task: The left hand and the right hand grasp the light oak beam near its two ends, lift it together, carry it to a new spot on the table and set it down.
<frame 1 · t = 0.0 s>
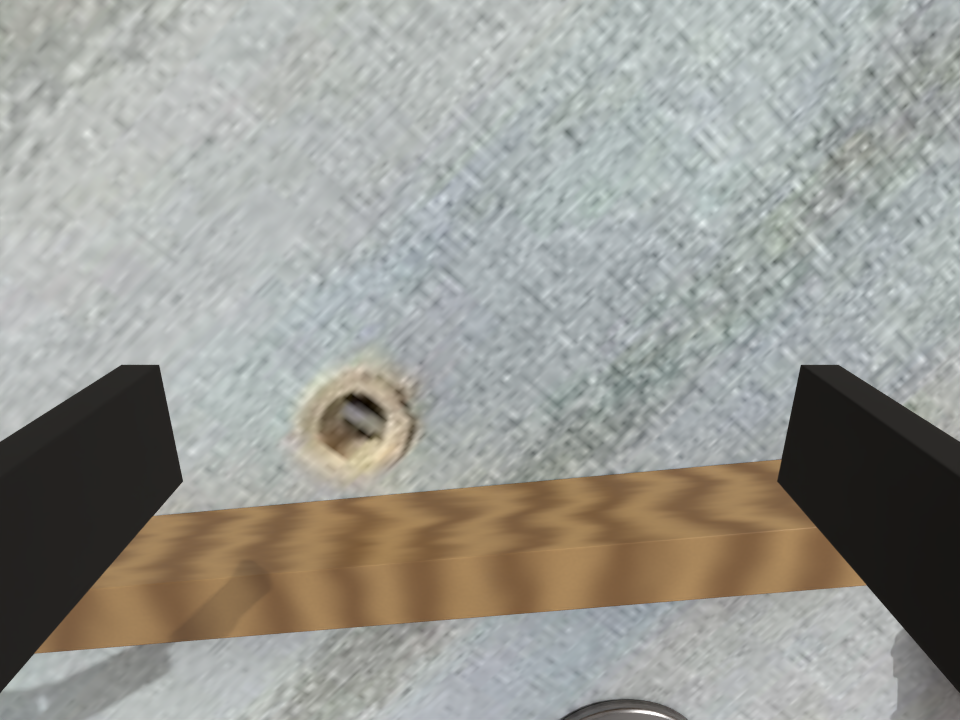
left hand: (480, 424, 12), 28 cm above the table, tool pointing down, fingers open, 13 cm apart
beam: (445, 516, 46), on the table
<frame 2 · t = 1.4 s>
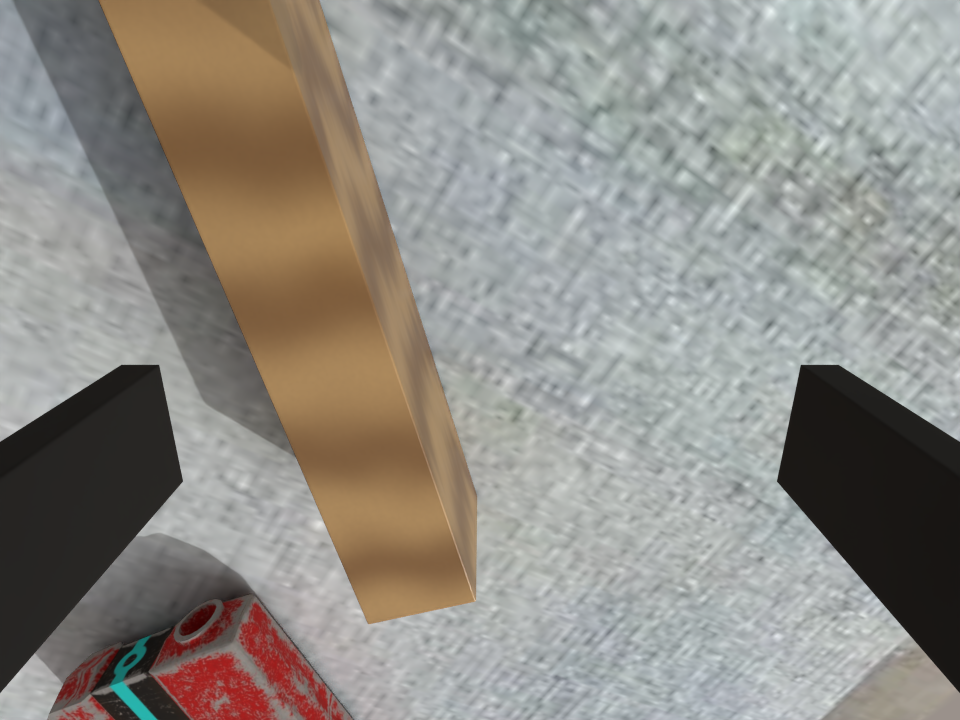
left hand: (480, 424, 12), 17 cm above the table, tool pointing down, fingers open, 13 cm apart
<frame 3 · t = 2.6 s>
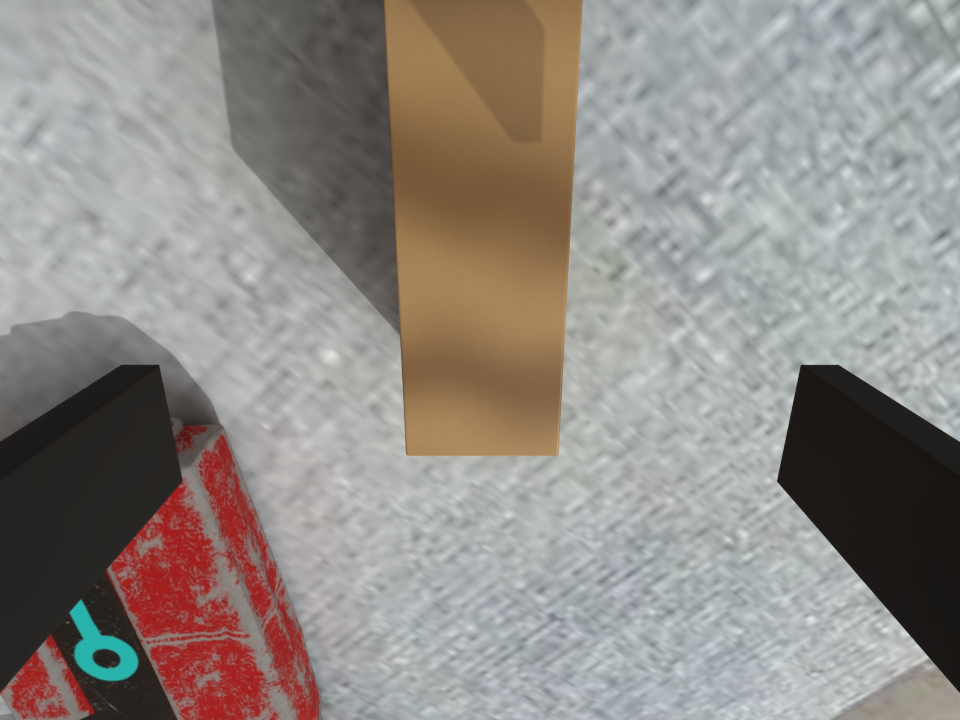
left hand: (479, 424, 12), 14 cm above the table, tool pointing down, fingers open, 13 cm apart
gun: (162, 665, 33), on the table
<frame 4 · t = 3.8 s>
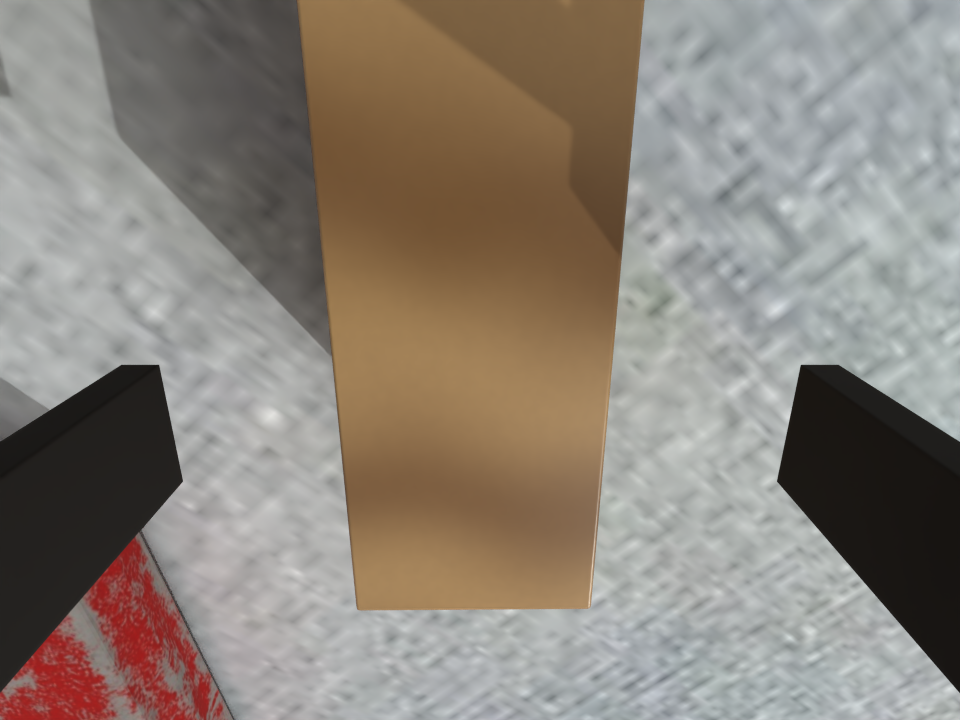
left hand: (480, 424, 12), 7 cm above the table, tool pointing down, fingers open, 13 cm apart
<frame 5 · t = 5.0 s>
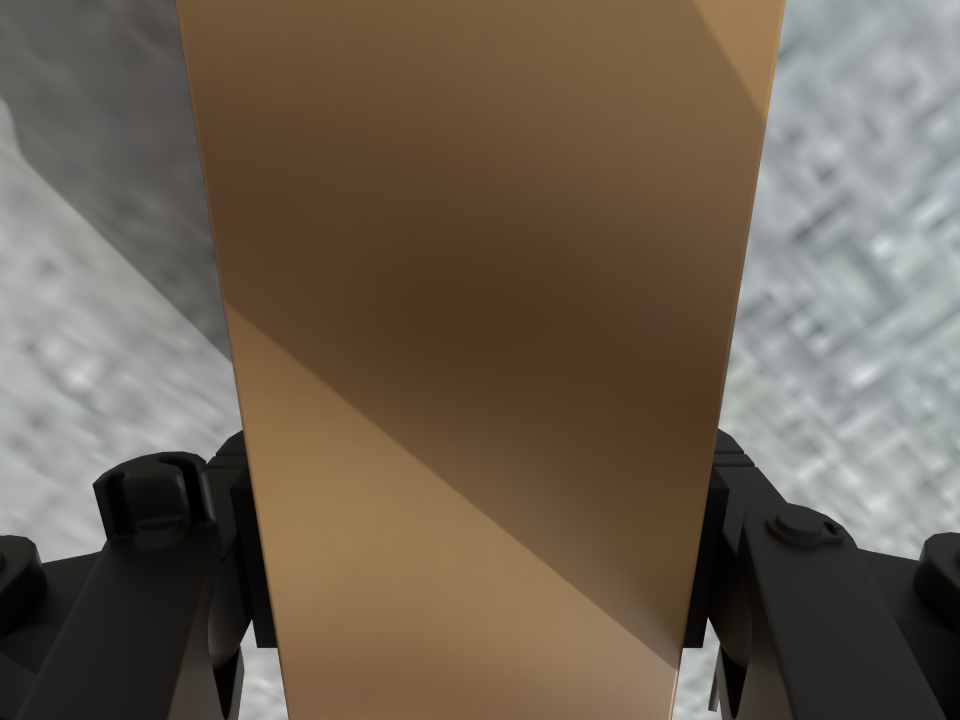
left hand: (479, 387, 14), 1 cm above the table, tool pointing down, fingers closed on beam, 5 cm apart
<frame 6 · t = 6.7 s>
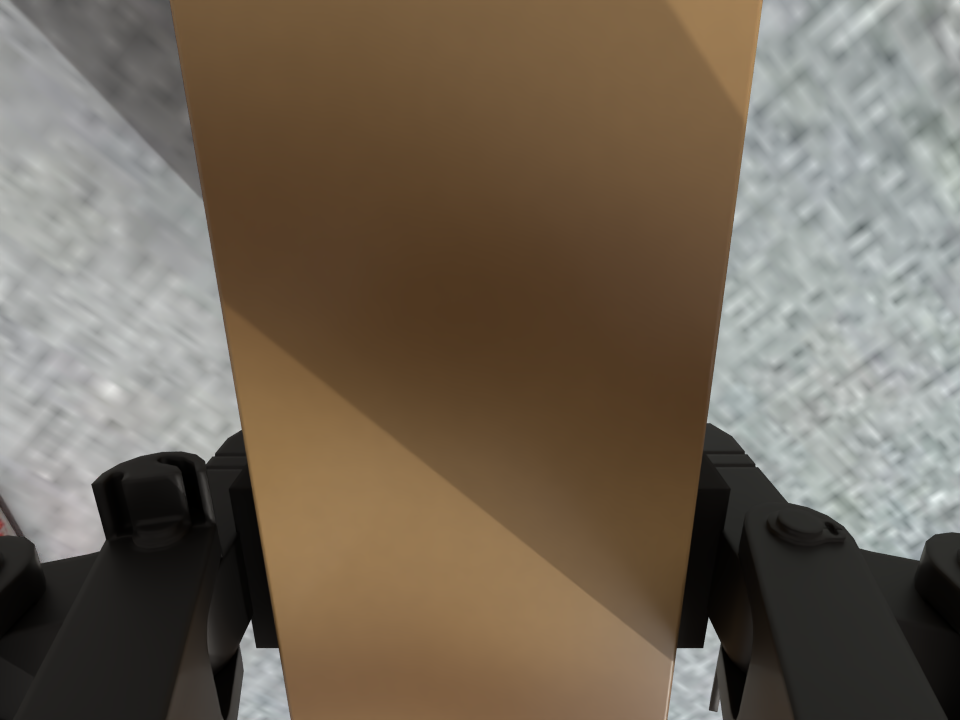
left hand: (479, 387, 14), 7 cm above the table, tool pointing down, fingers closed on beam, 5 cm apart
when the left hand's fingers open (2 cm above the table, at t = 8.6 s): beam drops 2 cm, on the table.
when the right hand's fingers open (5 cm above the table, at t = 8.7 s): beam stays where it is, on the table.
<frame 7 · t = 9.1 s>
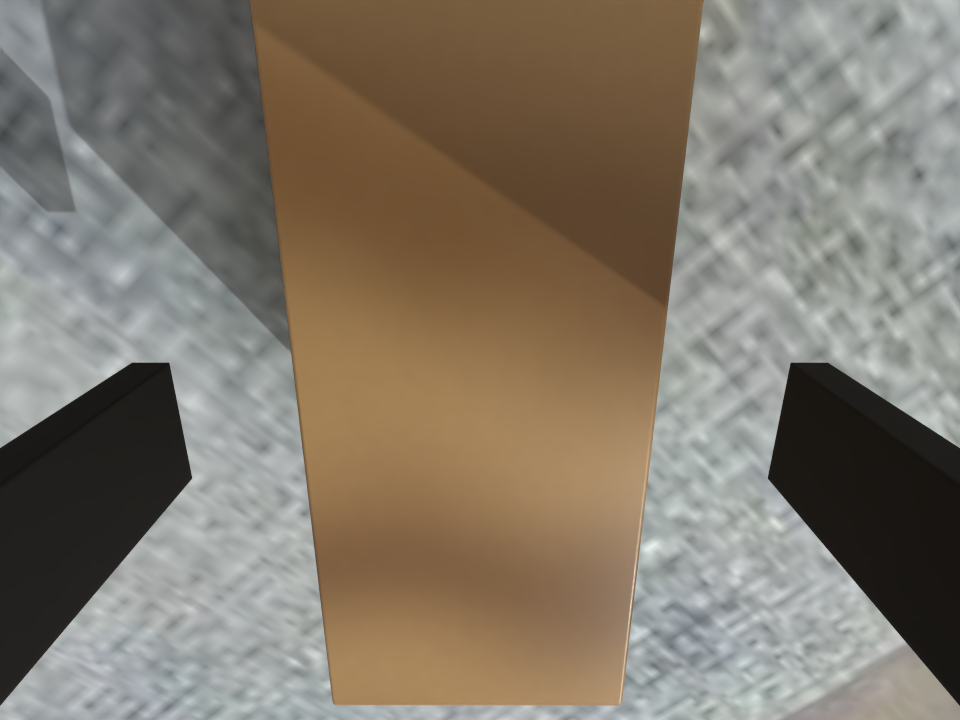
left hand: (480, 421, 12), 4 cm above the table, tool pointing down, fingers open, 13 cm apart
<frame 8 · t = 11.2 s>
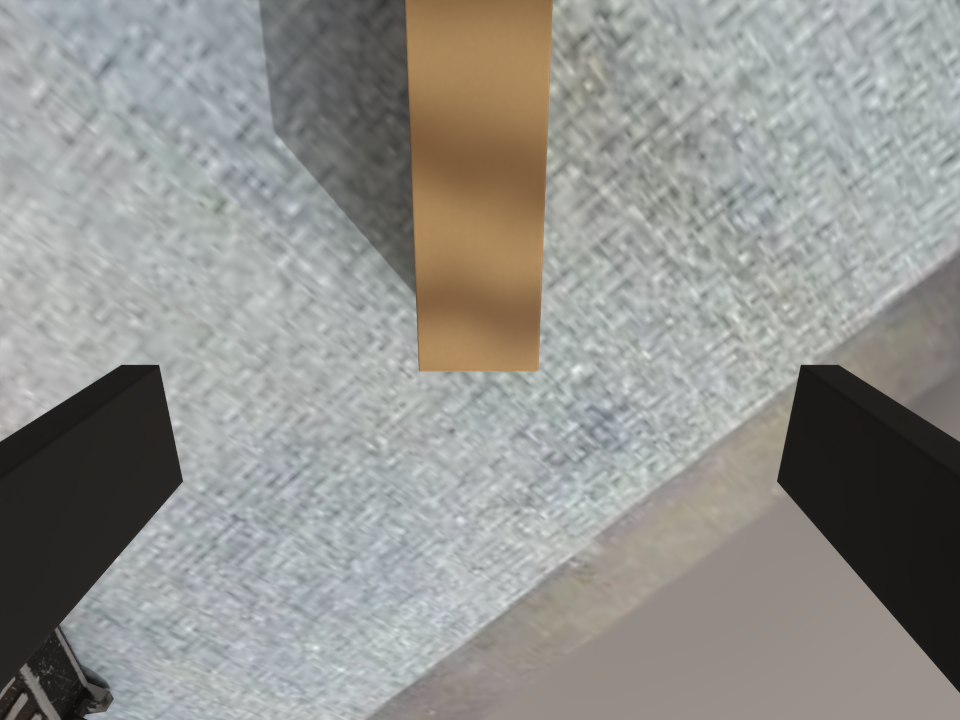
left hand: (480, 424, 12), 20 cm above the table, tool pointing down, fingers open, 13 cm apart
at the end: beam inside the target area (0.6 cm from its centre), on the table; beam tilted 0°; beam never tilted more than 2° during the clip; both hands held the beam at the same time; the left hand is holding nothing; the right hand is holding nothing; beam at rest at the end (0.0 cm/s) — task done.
